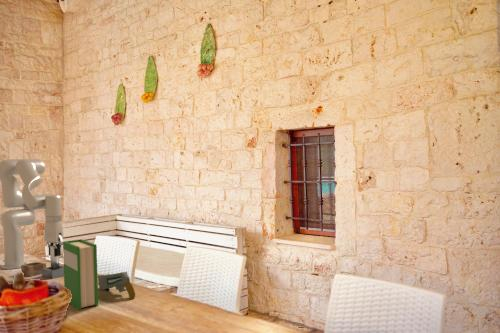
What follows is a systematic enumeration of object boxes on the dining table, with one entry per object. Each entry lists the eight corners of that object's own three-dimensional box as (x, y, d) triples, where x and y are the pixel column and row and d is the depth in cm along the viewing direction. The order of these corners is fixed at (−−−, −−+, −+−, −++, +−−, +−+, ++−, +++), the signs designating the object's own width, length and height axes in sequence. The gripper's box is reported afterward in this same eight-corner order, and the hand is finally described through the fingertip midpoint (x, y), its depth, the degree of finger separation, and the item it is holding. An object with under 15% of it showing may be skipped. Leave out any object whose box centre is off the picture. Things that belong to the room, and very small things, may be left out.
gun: (109, 307, 190) (101, 274, 193) (139, 296, 175) (130, 260, 178) (102, 309, 187) (95, 276, 191) (132, 298, 172) (123, 262, 176)
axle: (49, 267, 214) (48, 246, 214) (56, 266, 218) (55, 244, 218) (53, 268, 212) (53, 246, 212) (61, 267, 215) (60, 245, 215)
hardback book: (98, 305, 166) (96, 244, 166) (78, 310, 161) (76, 247, 161) (83, 295, 179) (81, 239, 179) (64, 299, 175) (63, 241, 175)
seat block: (41, 276, 214) (41, 268, 214) (58, 272, 221) (58, 264, 221) (52, 278, 209) (52, 270, 209) (68, 274, 216) (68, 266, 216)
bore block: (21, 274, 219) (21, 265, 219) (37, 271, 226) (36, 261, 226) (30, 276, 214) (30, 266, 214) (46, 272, 221) (46, 263, 221)
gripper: (37, 219, 216) (38, 255, 216) (56, 221, 207) (57, 258, 207) (50, 217, 222) (51, 252, 223) (70, 219, 213) (71, 255, 214)
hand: (54, 255), depth 215 cm, fingers closed on axle, 4 cm apart
